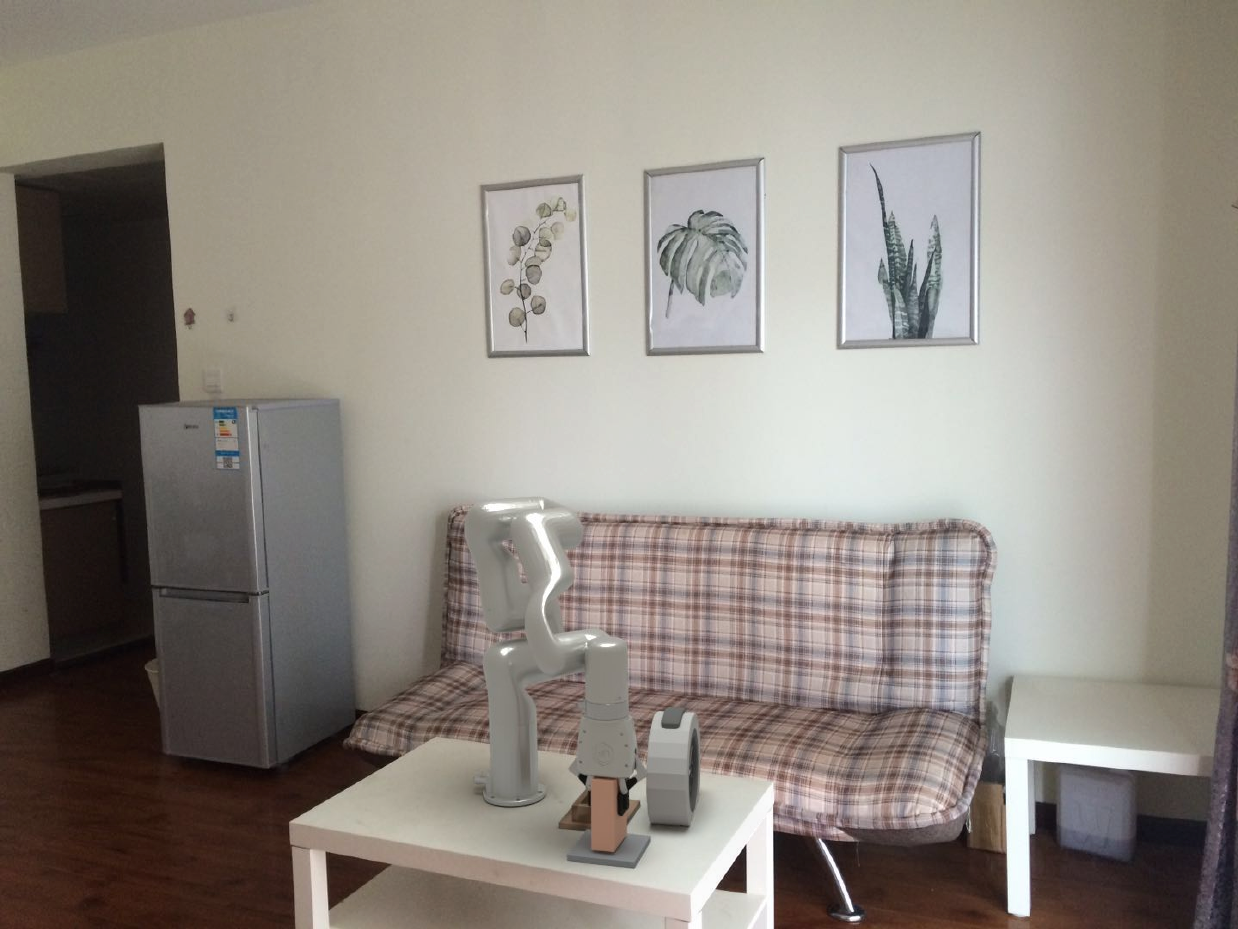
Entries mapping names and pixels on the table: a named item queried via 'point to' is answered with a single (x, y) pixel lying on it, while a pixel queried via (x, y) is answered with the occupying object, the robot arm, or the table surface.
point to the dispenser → (588, 813)
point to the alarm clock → (673, 767)
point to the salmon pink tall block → (606, 815)
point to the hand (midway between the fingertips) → (608, 811)
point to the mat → (622, 856)
